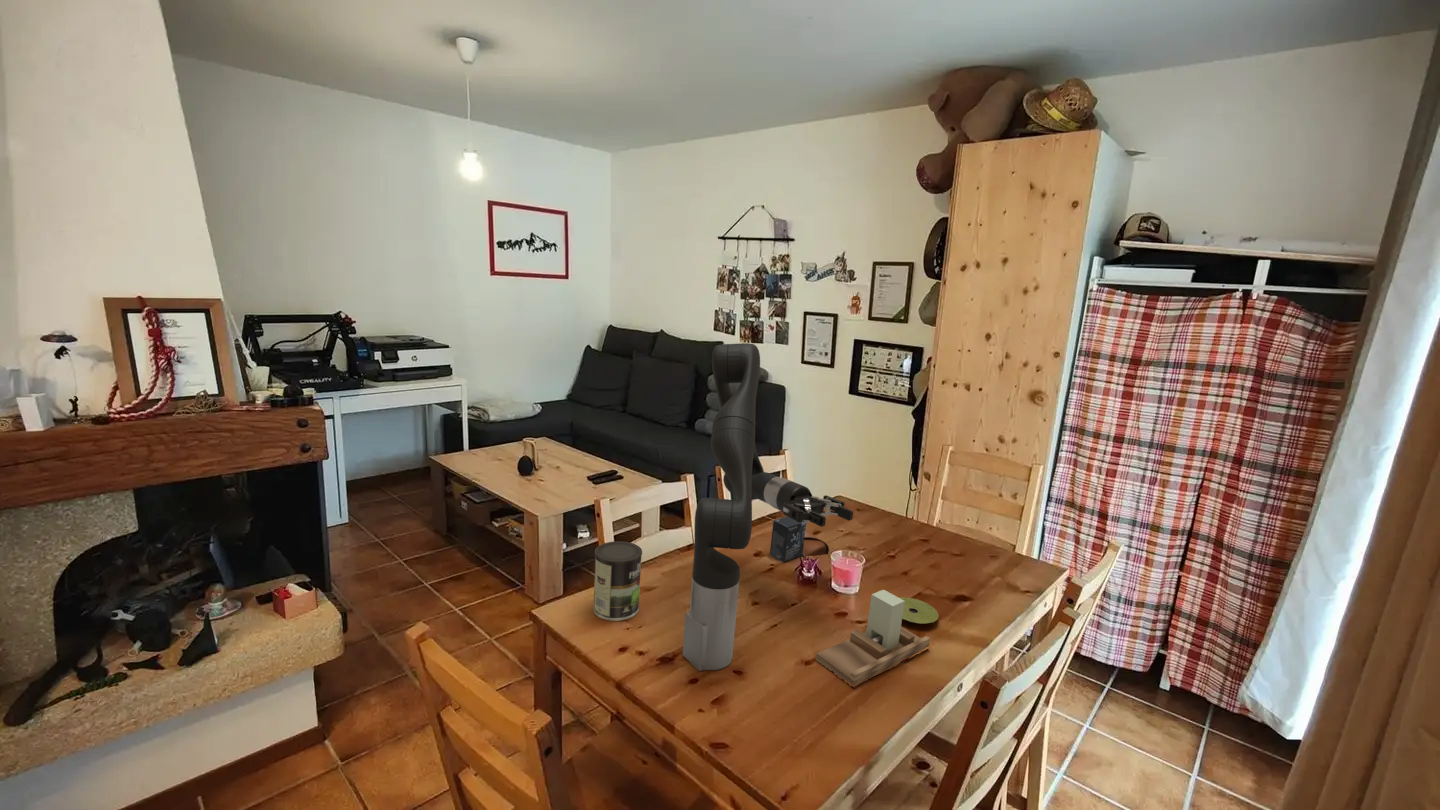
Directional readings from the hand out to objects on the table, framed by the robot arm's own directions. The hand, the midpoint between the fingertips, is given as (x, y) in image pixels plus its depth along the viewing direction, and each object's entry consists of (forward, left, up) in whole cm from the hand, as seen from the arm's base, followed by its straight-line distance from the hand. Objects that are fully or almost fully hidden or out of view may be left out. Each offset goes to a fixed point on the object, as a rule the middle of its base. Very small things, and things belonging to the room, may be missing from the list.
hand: (838, 519), depth 131 cm
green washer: (+21, -8, -26) cm, 34 cm away
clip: (+4, -12, -24) cm, 27 cm away
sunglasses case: (+25, +35, -26) cm, 51 cm away
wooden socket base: (+1, -13, -26) cm, 29 cm away
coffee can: (-37, +29, -26) cm, 54 cm away
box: (+16, +31, -26) cm, 43 cm away
